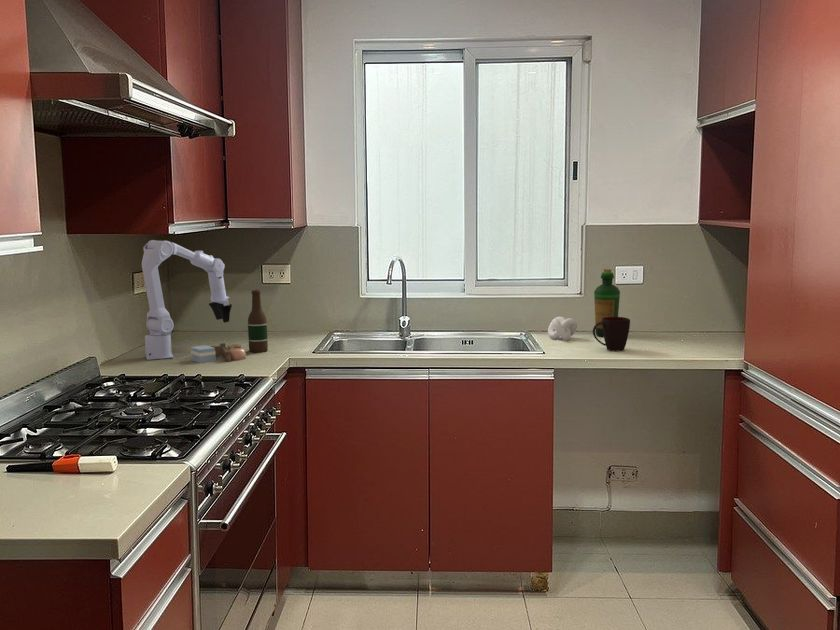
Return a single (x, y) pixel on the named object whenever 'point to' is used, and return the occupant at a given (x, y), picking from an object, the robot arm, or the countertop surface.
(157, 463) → the countertop surface
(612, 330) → the cup
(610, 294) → the bottle
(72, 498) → the countertop surface
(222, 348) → the display stand
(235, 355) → the pink rounded block
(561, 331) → the white lumpy piece
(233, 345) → the maple block
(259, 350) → the beer bottle
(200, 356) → the carton
